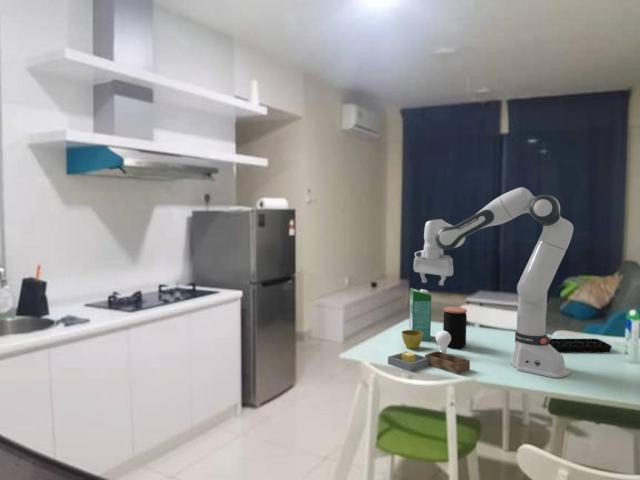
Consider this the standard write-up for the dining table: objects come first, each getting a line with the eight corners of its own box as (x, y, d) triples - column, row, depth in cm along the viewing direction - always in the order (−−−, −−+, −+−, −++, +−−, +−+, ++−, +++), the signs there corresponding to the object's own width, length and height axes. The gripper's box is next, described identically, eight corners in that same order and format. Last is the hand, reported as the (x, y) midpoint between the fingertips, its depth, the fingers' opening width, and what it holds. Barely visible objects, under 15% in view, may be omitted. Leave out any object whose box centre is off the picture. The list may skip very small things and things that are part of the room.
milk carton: (430, 340, 238) (431, 290, 237) (412, 339, 238) (413, 290, 237) (426, 335, 247) (427, 287, 246) (409, 335, 248) (410, 287, 246)
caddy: (469, 371, 193) (469, 360, 192) (457, 375, 187) (457, 364, 187) (436, 361, 205) (437, 351, 205) (424, 365, 200) (425, 354, 199)
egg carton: (616, 353, 220) (617, 345, 220) (560, 357, 214) (561, 349, 214) (587, 342, 238) (588, 335, 237) (535, 346, 231) (535, 338, 231)
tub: (428, 366, 198) (429, 358, 198) (410, 372, 190) (410, 363, 190) (406, 359, 207) (406, 351, 207) (387, 364, 200) (388, 356, 199)
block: (415, 364, 198) (415, 354, 198) (409, 366, 196) (409, 356, 196) (407, 362, 202) (408, 351, 201) (401, 364, 199) (401, 353, 199)
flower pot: (417, 352, 218) (417, 336, 218) (397, 348, 224) (397, 333, 224) (426, 347, 226) (426, 332, 226) (407, 343, 232) (407, 328, 232)
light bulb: (440, 351, 219) (440, 328, 218) (453, 354, 214) (454, 330, 213) (432, 354, 214) (433, 330, 214) (445, 358, 210) (446, 333, 209)
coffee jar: (463, 343, 233) (464, 307, 232) (467, 349, 222) (469, 311, 221) (441, 342, 234) (442, 306, 233) (444, 348, 223) (445, 311, 222)
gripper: (456, 255, 213) (455, 286, 214) (420, 252, 228) (419, 280, 229) (448, 256, 209) (447, 287, 210) (411, 252, 224) (411, 281, 225)
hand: (432, 283), depth 220 cm, fingers open, 8 cm apart
